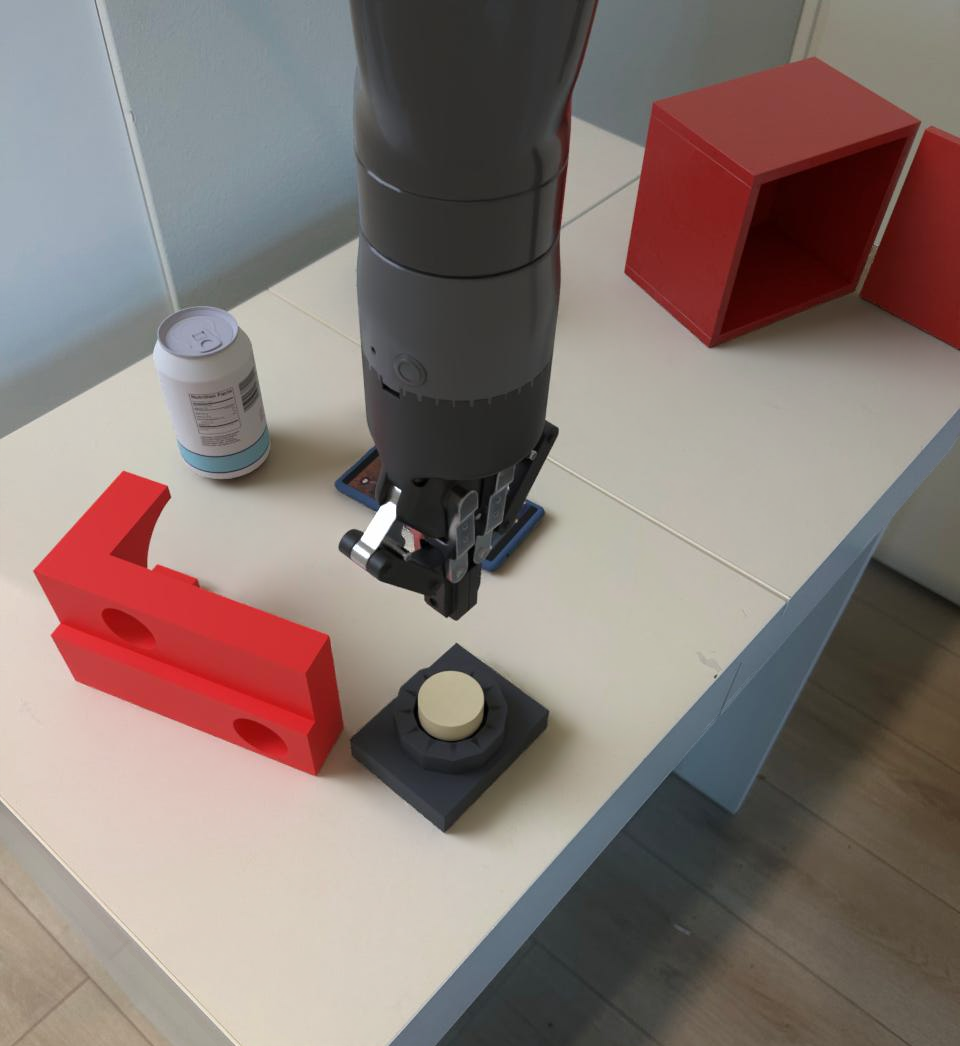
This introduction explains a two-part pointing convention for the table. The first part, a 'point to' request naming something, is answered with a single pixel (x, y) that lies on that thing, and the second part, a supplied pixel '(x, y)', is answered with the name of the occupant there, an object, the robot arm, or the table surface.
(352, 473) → the smartphone
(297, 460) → the table surface
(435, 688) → the button
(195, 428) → the beverage can
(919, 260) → the door
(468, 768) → the block
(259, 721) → the bracket
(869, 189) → the red cabinet
